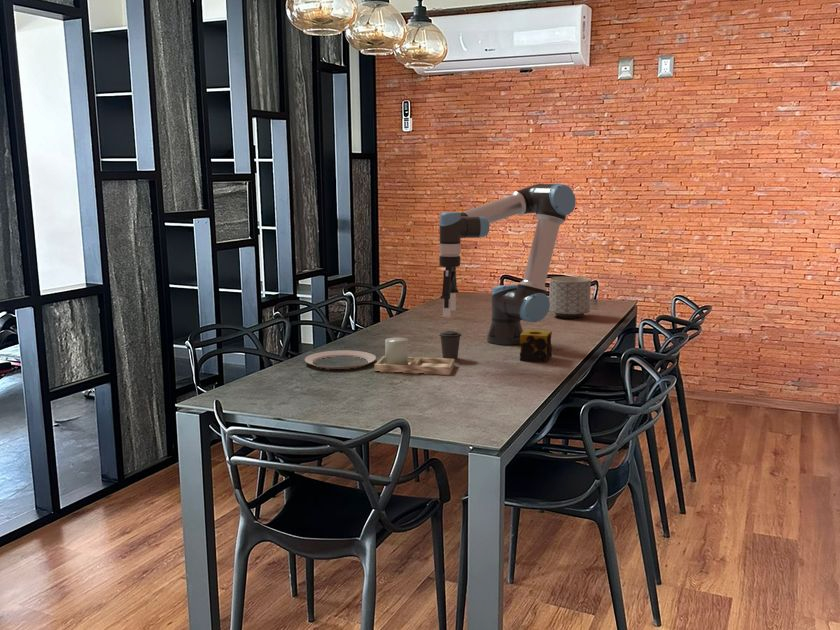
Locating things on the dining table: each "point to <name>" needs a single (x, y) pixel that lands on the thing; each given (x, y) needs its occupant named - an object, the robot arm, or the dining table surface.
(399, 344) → the pale grey-green cylinder
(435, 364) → the birch caddy
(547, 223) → the robot arm
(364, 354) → the plate
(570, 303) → the planter
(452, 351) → the coffee cup
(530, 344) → the yellow die
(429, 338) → the dining table surface
